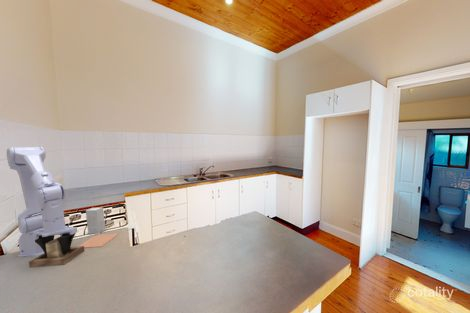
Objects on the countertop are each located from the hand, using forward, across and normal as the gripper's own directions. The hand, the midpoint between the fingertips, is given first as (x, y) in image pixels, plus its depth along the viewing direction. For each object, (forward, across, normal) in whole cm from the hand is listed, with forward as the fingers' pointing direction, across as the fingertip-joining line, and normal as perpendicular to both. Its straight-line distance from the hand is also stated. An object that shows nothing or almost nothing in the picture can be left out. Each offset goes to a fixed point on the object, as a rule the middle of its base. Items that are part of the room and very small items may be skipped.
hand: (58, 253), depth 68 cm
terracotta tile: (+2, +6, +12) cm, 14 cm away
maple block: (+2, 0, 0) cm, 2 cm away
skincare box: (+3, -3, +23) cm, 23 cm away
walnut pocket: (+2, 0, 0) cm, 2 cm away
